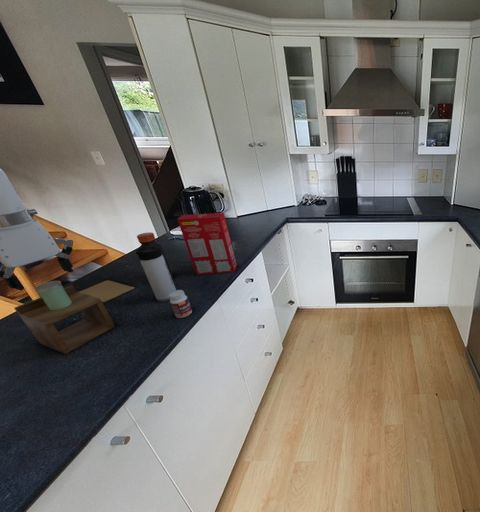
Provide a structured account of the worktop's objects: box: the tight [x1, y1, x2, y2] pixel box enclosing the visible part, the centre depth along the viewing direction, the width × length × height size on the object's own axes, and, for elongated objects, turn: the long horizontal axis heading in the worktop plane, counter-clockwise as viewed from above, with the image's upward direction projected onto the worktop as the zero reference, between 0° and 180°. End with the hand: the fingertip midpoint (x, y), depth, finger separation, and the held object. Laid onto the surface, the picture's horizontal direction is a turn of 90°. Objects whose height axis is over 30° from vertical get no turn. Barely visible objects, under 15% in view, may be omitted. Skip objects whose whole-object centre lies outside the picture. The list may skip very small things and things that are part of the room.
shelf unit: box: [13, 284, 116, 355], centre depth 80 cm, size 12×12×13 cm
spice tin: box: [34, 280, 72, 310], centre depth 76 cm, size 5×5×7 cm
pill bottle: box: [169, 289, 193, 319], centre depth 90 cm, size 5×5×8 cm
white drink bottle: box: [136, 231, 174, 280], centre depth 107 cm, size 7×7×20 cm
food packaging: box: [177, 212, 238, 276], centre depth 113 cm, size 15×5×25 cm, turn 104°
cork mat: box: [79, 279, 136, 303], centre depth 103 cm, size 16×10×1 cm, turn 72°
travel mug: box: [135, 247, 177, 302], centre depth 96 cm, size 6×7×20 cm
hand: (45, 279), depth 74 cm, fingers open, 9 cm apart
